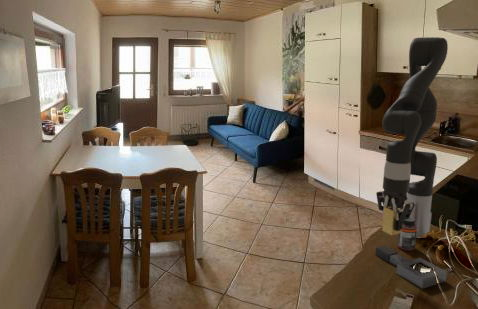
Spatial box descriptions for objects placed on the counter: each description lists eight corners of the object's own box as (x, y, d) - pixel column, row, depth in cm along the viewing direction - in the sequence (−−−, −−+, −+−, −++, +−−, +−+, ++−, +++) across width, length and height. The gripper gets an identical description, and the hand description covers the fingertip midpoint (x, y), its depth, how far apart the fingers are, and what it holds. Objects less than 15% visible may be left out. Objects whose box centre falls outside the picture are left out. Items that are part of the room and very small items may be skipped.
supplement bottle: (400, 242, 148) (403, 214, 146) (416, 247, 145) (420, 218, 142) (394, 248, 144) (397, 219, 141) (412, 253, 140) (415, 223, 138)
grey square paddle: (390, 250, 142) (391, 242, 141) (445, 281, 122) (446, 271, 121) (368, 256, 138) (369, 247, 137) (422, 288, 118) (423, 278, 117)
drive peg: (391, 228, 128) (393, 205, 126) (401, 233, 124) (403, 209, 122) (382, 230, 126) (384, 206, 124) (391, 235, 123) (393, 211, 121)
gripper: (424, 180, 116) (418, 234, 120) (388, 168, 129) (384, 217, 133) (405, 183, 113) (400, 238, 117) (370, 171, 126) (367, 221, 130)
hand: (392, 227), depth 125 cm, fingers closed on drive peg, 4 cm apart
